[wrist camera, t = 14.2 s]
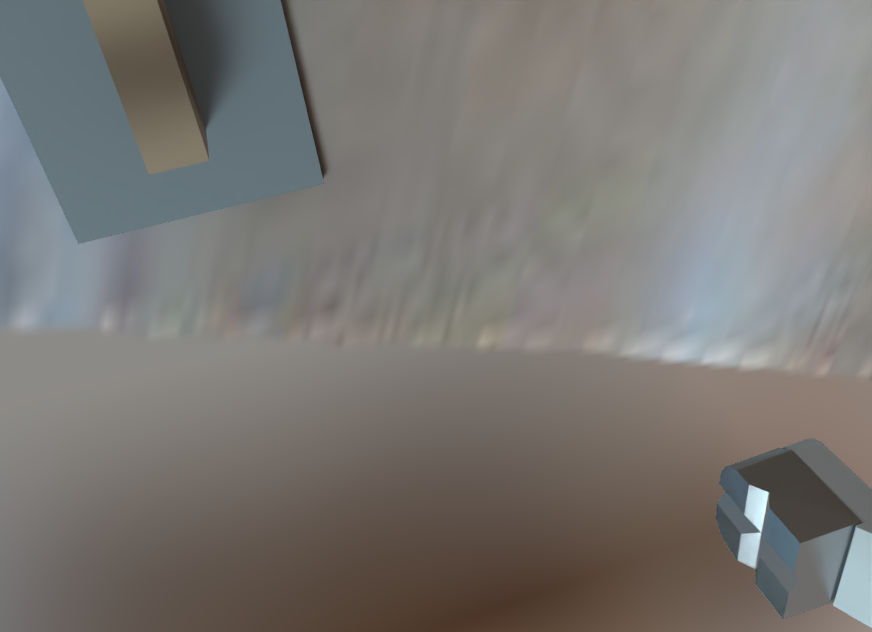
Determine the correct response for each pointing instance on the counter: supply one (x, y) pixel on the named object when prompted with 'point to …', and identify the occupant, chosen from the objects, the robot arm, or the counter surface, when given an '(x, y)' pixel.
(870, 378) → the counter surface
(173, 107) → the tan stepped block
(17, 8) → the tool rest mat
